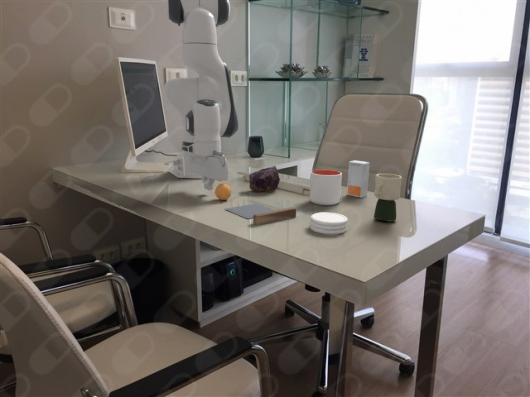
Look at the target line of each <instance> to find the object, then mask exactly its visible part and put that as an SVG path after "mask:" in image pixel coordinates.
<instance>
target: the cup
mask: <svg viewBox="0 0 530 397" xmlns="http://www.w3.org/2000/svg"><path fill="white" fill-rule="evenodd" d="M342 177H343V173H342V172H341V171H338V170H334V169H314V170H311V171H310V180H309V181H310V182H309V183H310V184H309V200H310V202H311V203H313V204H315V205H320V206H333V205H336V204H338V203H340V201H341V195H342V193H341V192H342V181H343V180H342V179H343V178H342Z"/></svg>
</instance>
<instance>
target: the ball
mask: <svg viewBox="0 0 530 397" xmlns="http://www.w3.org/2000/svg"><path fill="white" fill-rule="evenodd" d="M214 194H215V197H216V198H217V199H219V200H220V201H226V200H228V199H229V198H231V195H232V188H231V187H230V186H229V185H228V184H227V183H220V184H218V185H217V186H216V188H215V189H214Z"/></svg>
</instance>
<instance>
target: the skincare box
mask: <svg viewBox="0 0 530 397" xmlns="http://www.w3.org/2000/svg"><path fill="white" fill-rule="evenodd" d="M370 164H371V163H370V162H368V161H362V160H350V161H348V169H347V170H348V172H347V183H346V186H347V187H346V196H347V195H348V196H353V197H356V198H360V199H361V198H365V197H367V195H368V190H369V189H368V187H369V176H370V175H369V174H370Z"/></svg>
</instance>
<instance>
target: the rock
mask: <svg viewBox="0 0 530 397" xmlns="http://www.w3.org/2000/svg"><path fill="white" fill-rule="evenodd" d="M248 178H249V182H248V183H249V189H250V191H252V192H255V193H260V192H267V193H270V191H272V192H273V191H275V190H276V189H278V188H279V184H280V181H281V179H280V174H279V171H278V168H277V166H276V165H273V166H270V167H266V168H260V169H259V170H258V171H254V172H253V173H250V174H249V177H248Z"/></svg>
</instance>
